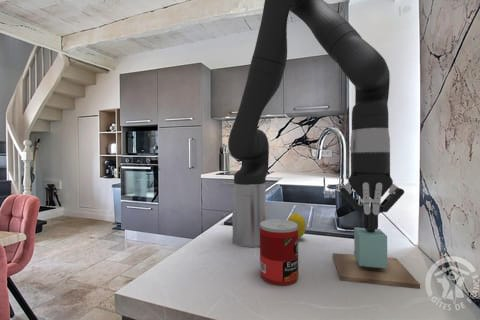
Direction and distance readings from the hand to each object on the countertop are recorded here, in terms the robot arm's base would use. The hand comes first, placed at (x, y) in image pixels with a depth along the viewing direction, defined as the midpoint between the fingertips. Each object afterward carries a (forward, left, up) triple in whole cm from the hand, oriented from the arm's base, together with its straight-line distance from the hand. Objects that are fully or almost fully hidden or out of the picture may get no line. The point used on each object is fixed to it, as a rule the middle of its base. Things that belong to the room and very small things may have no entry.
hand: (370, 230), depth 53 cm
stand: (0, 0, -9) cm, 9 cm away
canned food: (-19, -7, -9) cm, 22 cm away
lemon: (-16, +17, -9) cm, 25 cm away
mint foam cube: (0, 0, -7) cm, 7 cm away
